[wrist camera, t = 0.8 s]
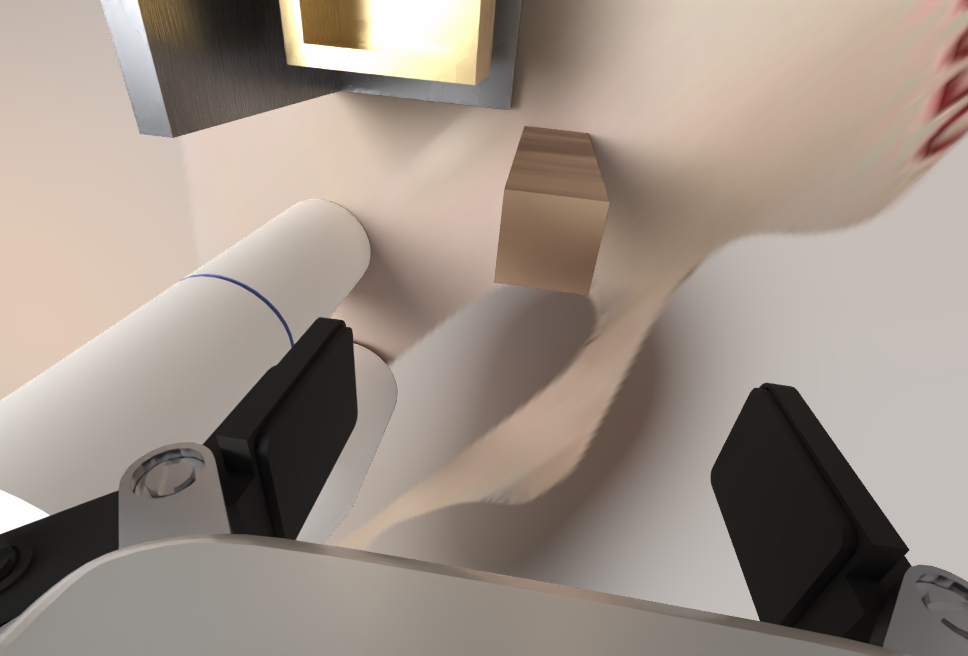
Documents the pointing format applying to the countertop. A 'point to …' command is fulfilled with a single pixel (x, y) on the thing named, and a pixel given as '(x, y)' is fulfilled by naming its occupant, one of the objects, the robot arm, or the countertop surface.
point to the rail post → (552, 213)
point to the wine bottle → (354, 446)
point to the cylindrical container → (174, 362)
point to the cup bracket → (306, 54)
